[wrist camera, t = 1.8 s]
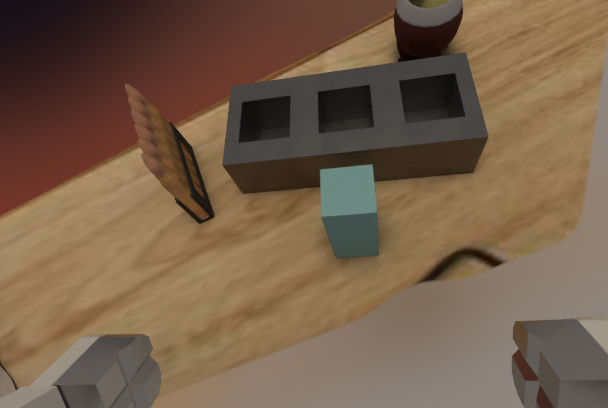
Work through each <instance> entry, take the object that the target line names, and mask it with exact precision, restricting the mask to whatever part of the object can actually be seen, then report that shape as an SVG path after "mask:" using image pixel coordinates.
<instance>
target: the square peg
mask: <svg viewBox="0 0 608 408" xmlns="http://www.w3.org/2000/svg"><path fill="white" fill-rule="evenodd" d="M320 185H321V217H322V220H323V223H324V226H325V228H326V231H327V234H328V237H329V239H330V242H331V245H332V247H333V250H334V253H335V256H336V258H346V257H363V256H378V222H377V205H376V195H375V185H374V175H373V164H371V165H361V166H351V167H341V168H331V169H321V170H320Z"/></svg>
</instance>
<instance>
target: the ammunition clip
mask: <svg viewBox="0 0 608 408" xmlns="http://www.w3.org/2000/svg"><path fill="white" fill-rule="evenodd" d="M125 88H126V91H127V93H128V95H129V97H128V101H129V104H130V106H131V107H132V111H131V113H132V117H133V119H134V121H135V122H136V124H135V125H134V126H135V129H136V132H137V134H138V136H139V137H140V138H139V139H138V143H139V146H140V147H141V149H142V151H143V152H144V153H143V154H142V155H141V156H142V159H143V161H144V163H145V165H146V166H147V168H148V169H149V170H150V171H151V172H152V173H153V174H154V175H155V177H156V178H157V179H158V180H159V181H160V182H161V184H162V185H163V187H164V188H165V189H166V190H168V191H169V192H170V193H171V194H172V195H173V196H174V197H175V200H176V203H177V204H178V205H180V206H181V207H182V208H183V209H184V210H185V211H186V212H187V213H188V214H189V215H190V216H192V217H193V218H194V219H195V220H196V221H197V222H198V223H199V224H200V223H202V222H204V221H206V220H209V219H211V218H213V217H214V213H213V210H212V207H211V204H210V201H209V198H208V195H207V192H206V189H205V186H204V183H203V180H202V177H201V174H200V171H199V168H198V165H197V162H196V159H195V156H194V152H193V149H192V147H191V146H190V144H189V143H188V142H187V141H186V140H185V138H184V137H183V136H182V135H181V134H180V132H179V131H178V130H177V129H176V128H175V126H174V125H173V124H172V123H168V122H167V120H166V119H165V118H164V117H163V116H162V115H161V113H160V112H159V111H158V110H157V109H156V108H155V107H153V106H152V105H151V104H150V103H149V102H148V101H147V100H146V98H145V97H144V96H143V95H142V94H141V93H140V92H139V91H137V90H136V89H135V88H133V87H132V86H130V85H128V84H125Z"/></svg>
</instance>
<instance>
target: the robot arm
mask: <svg viewBox="0 0 608 408" xmlns="http://www.w3.org/2000/svg"><path fill="white" fill-rule="evenodd" d="M513 340H514V341H515V343H516V345H517V346H518V348H519V349H518V350H517V351H516V352H515V353H514V355H513V356H512V374H513V379H514V384H515V387H516V390H517V393H518V396H519V397H520V400H521V402H522V404H523V406H524V407H525V408H608V320H606V319H604V318H602V317H584V318H571V319H562V320H538V321H516V322H515V324H514V327H513ZM152 349H153V347H152V345H151V342H150V340H149V337H148V336H146V335H143V334H106V335H87V336H84V337H81V338H80V339H79V340H78V341H76V342H75V343H74V344H73V345H72V346H71V347H70V348H69V349H68V350H67V351H66V352H65V353H64V354H63V355H62V356H61V357H60V358H59V359H58V360H57V361H55V362H54V363H53V364H52V365H51V366H50V367H49V368H48V369H47V370H46V371H45V372H44V373H43V374H42V375H41V376H40V377H39V378H38V379H37V380H35V381H34V382H33V383H32V384H31V385H30V386H23V387H21V388H19V389H18V390H16V389H15V386H14V384H13V382H12V380H11V378H10V377H9V375H8V374H7V373H6V372H5V371H4V369H3V368H2V367H1V365H0V408H150V407H151V406H152V404H153V402H154V401H155V399H156V398H157V396H158V392H159V388H160V384H161V372H160V368H159V365H158V363H157V362H156V361H155V360H154V359H152V358H151V357H150V354H151V351H152Z"/></svg>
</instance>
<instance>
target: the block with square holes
mask: <svg viewBox="0 0 608 408" xmlns="http://www.w3.org/2000/svg"><path fill="white" fill-rule="evenodd" d="M487 139H488V133H487V129H486V126H485V122H484V118H483V115H482V111H481V107H480V104H479V100H478V96H477V92H476V89H475V85H474V81H473V78H472V74H471V70H470V67H469V63H468V59H467V55H466V53H459V54H452V55H445V56H438V57H431V58H424V59H418V60H411V61H404V62H397V63H390V64H383V65H376V66H369V67H362V68H355V69H348V70H341V71H334V72H328V73H321V74H314V75H307V76H300V77H293V78H286V79H279V80H272V81H265V82H258V83H251V84H245V85H238V86H232V87H231V94H230V103H229V112H228V121H227V130H226V139H225V148H224V157H223V167H224V168H225V169H226V171H227V172H228V173H229V175H230V176H231V178H232V179H233V180H234V182H235V183H236V184H237V186H238V187H239V188H240V190H241V191H242V193H243V194H245V193H256V192H267V191H277V190H288V189H299V188H310V187H321V185H320V170H321V169H331V168H341V167H351V166H361V165H371V164H373V175H374V182H375V181H385V180H396V179H407V178H418V177H429V176H439V175H450V174H461V173H472V172H473V171H474V169H475V167H476V165H477V162H478V160H479V158H480V155H481V153H482V151H483V148H484V146H485V144H486V141H487Z"/></svg>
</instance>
